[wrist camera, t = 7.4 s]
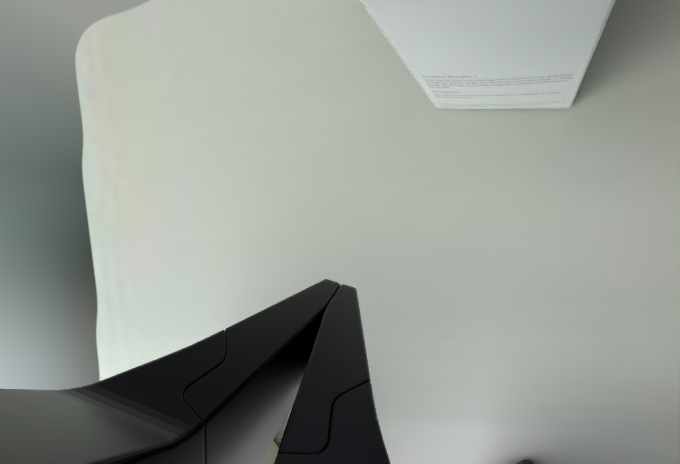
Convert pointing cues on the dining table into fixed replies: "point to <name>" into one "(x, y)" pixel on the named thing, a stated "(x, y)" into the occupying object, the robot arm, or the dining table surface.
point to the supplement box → (494, 48)
